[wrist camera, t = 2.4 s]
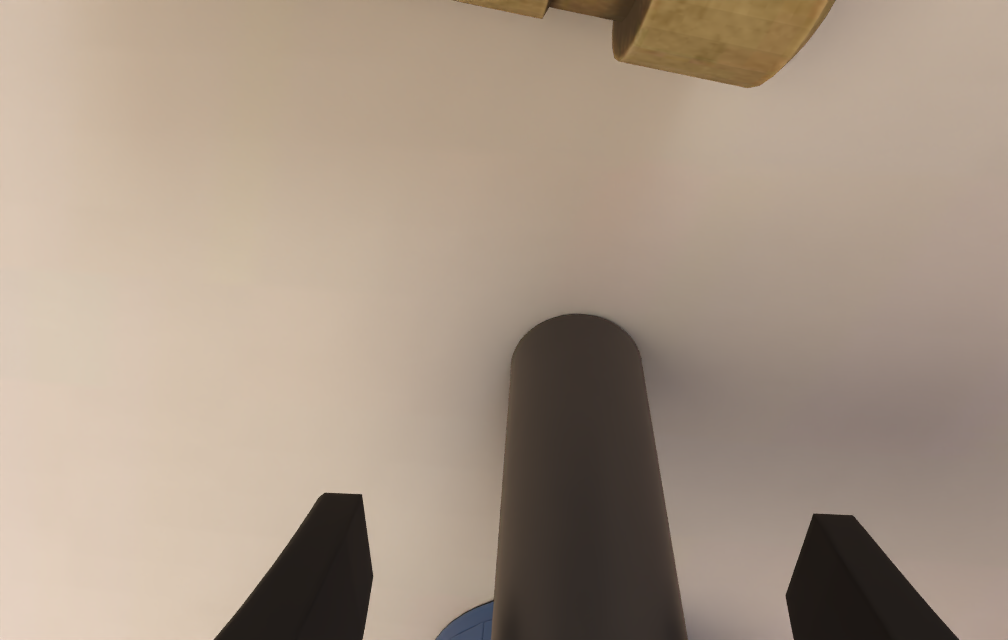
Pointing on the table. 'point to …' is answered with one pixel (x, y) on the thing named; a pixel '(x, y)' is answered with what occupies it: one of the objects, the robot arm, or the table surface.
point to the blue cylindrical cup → (471, 625)
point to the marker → (582, 494)
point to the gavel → (697, 32)
